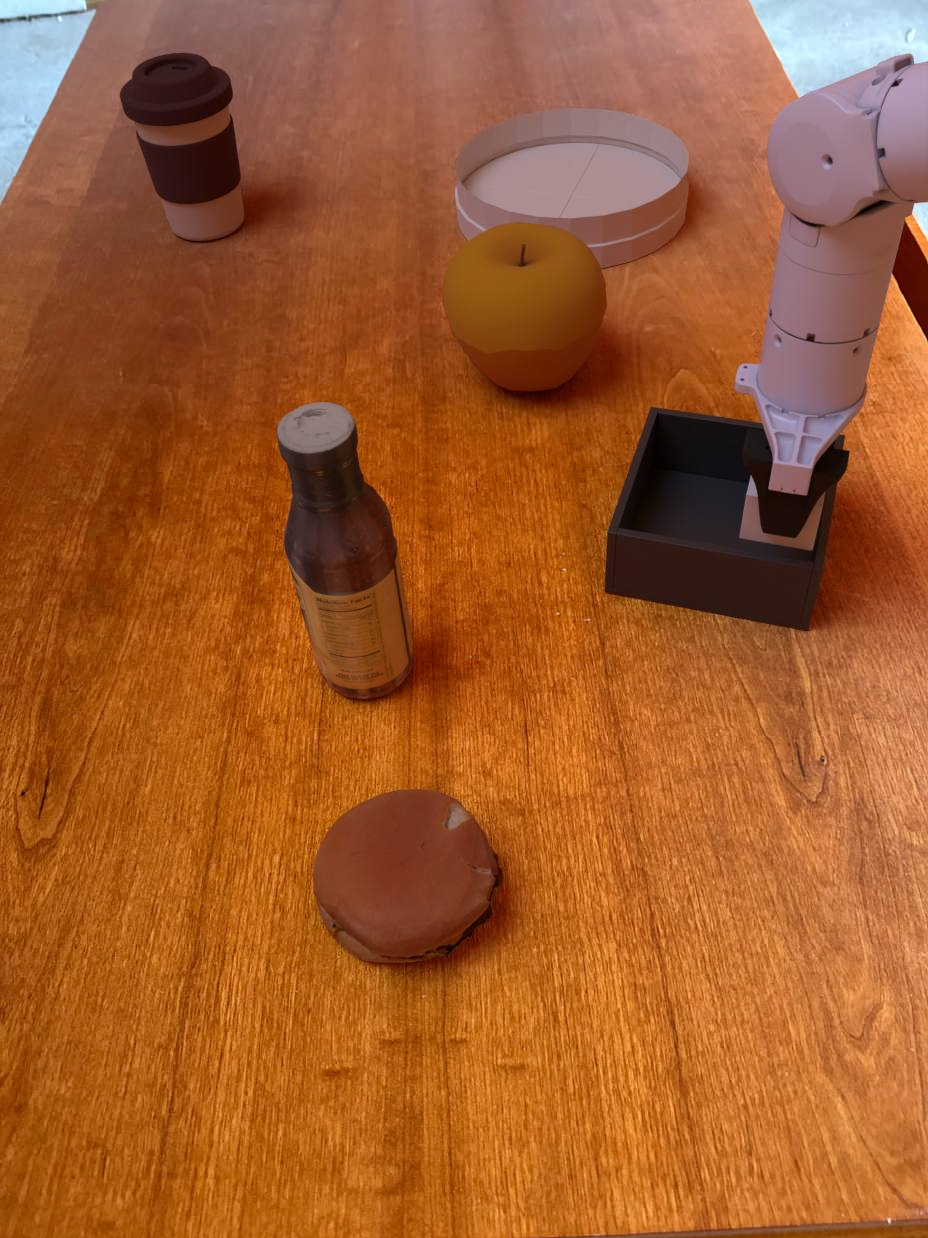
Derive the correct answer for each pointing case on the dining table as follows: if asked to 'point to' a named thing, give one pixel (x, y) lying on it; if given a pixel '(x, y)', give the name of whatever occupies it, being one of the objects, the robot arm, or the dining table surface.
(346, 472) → the sauce bottle
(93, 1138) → the dining table surface
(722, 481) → the bin
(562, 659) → the dining table surface
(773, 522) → the robot arm
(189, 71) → the coffee cup
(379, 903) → the chocolate glazed sandwich cookie
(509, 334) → the apple
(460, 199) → the dish
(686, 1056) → the dining table surface
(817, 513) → the cube
